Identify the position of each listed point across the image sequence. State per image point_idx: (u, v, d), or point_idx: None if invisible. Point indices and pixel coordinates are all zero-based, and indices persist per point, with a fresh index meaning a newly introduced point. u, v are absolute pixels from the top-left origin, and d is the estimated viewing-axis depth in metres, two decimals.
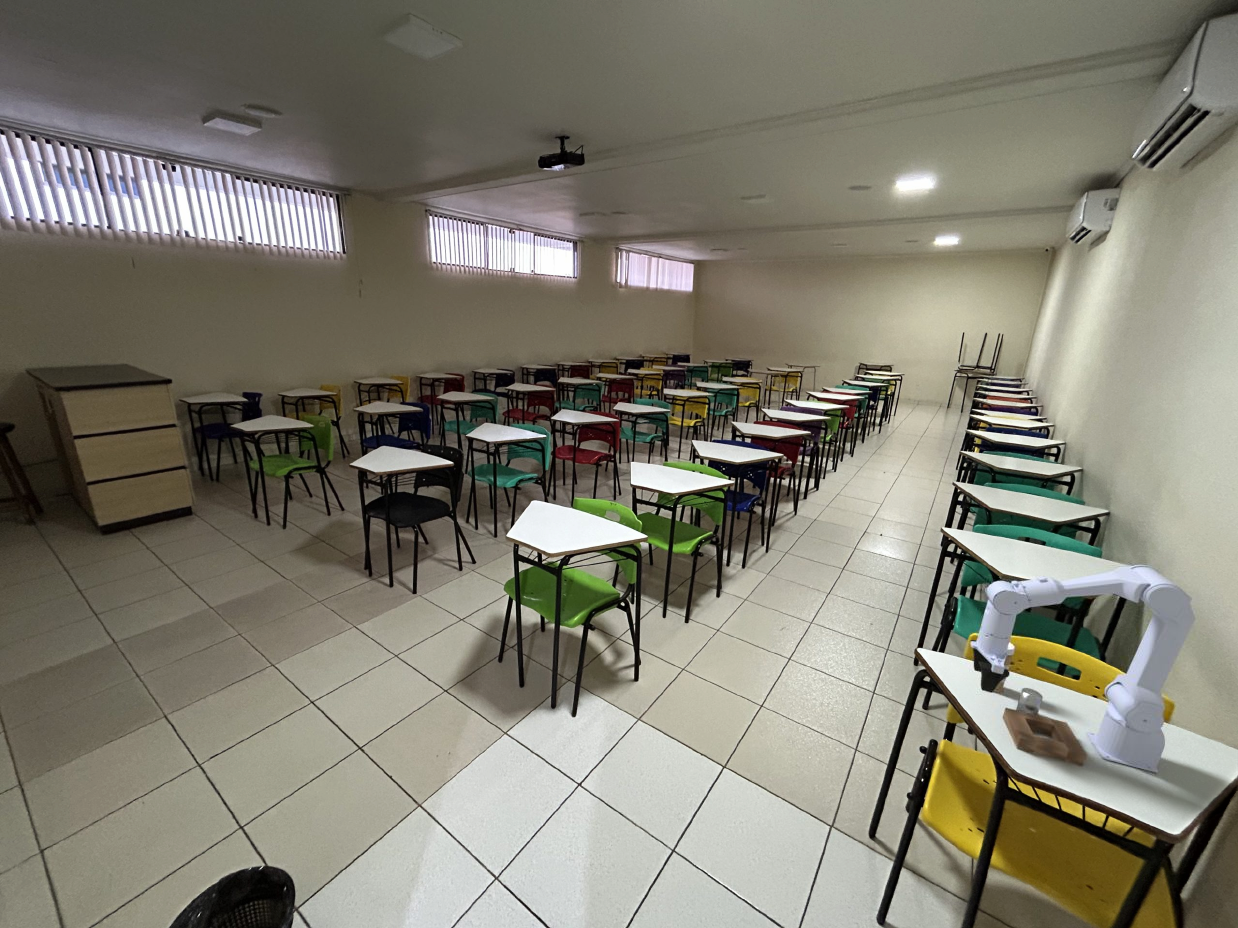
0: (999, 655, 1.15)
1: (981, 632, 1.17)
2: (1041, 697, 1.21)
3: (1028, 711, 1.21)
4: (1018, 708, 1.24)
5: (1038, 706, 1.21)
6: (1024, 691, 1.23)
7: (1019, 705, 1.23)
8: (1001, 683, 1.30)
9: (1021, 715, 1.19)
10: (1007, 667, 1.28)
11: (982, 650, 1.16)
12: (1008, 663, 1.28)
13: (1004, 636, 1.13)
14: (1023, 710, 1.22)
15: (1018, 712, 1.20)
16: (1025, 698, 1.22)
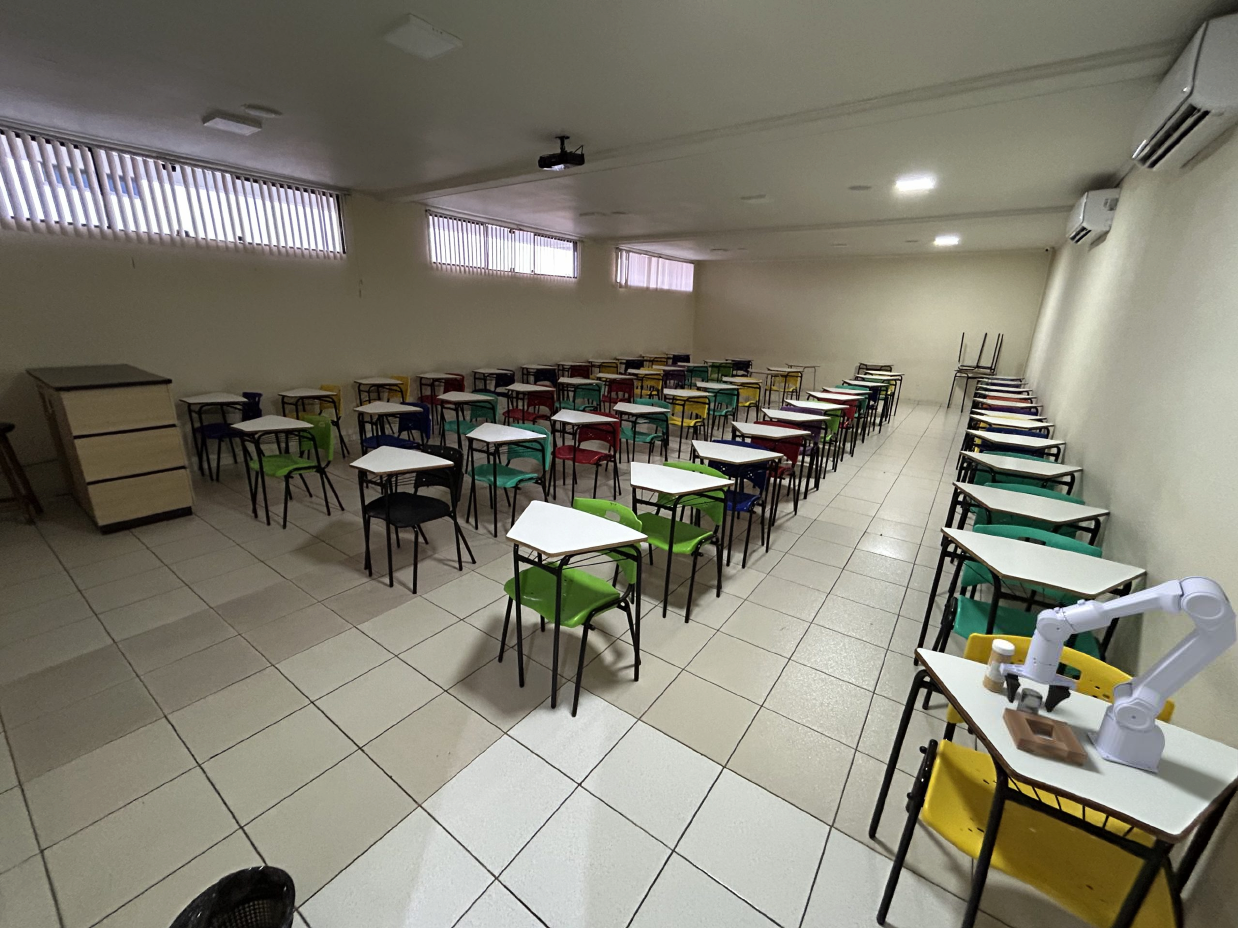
0: (1025, 672, 1.20)
1: None
2: (1041, 697, 1.21)
3: (1028, 711, 1.21)
4: (1018, 708, 1.24)
5: (1038, 706, 1.21)
6: (1024, 691, 1.23)
7: (1019, 705, 1.23)
8: (1001, 683, 1.30)
9: (1021, 715, 1.19)
10: None
11: (1023, 665, 1.23)
12: (1008, 663, 1.28)
13: (1047, 662, 1.16)
14: (1023, 710, 1.22)
15: (1018, 712, 1.20)
16: (1025, 698, 1.22)
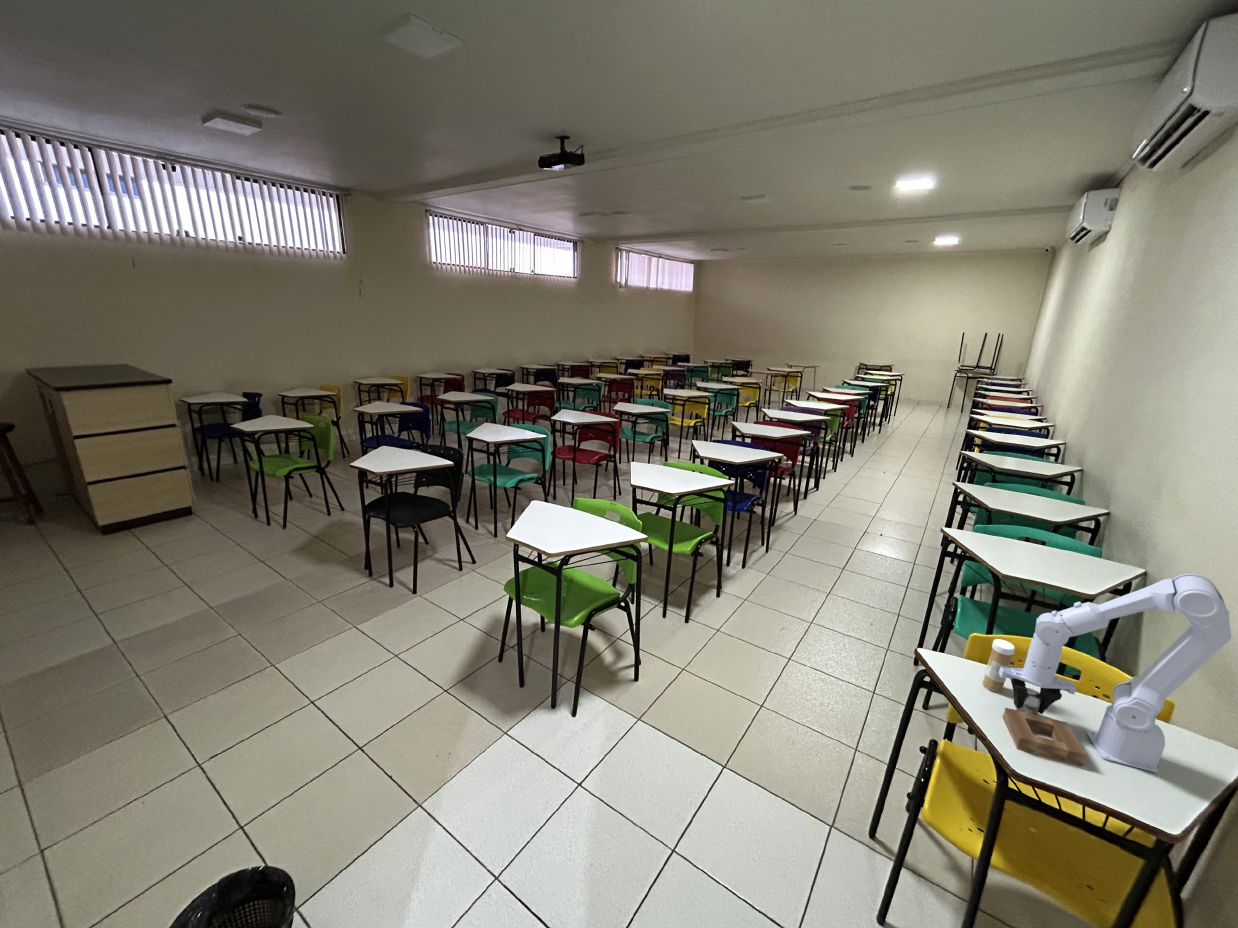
0: (1025, 676, 1.21)
1: None
2: (1041, 697, 1.21)
3: (1028, 711, 1.21)
4: (1018, 708, 1.24)
5: (1038, 706, 1.21)
6: None
7: None
8: (1001, 683, 1.30)
9: (1021, 715, 1.19)
10: (1007, 667, 1.28)
11: (1022, 668, 1.23)
12: (1008, 663, 1.28)
13: (1046, 666, 1.17)
14: (1023, 710, 1.22)
15: (1018, 712, 1.20)
16: (1025, 698, 1.22)
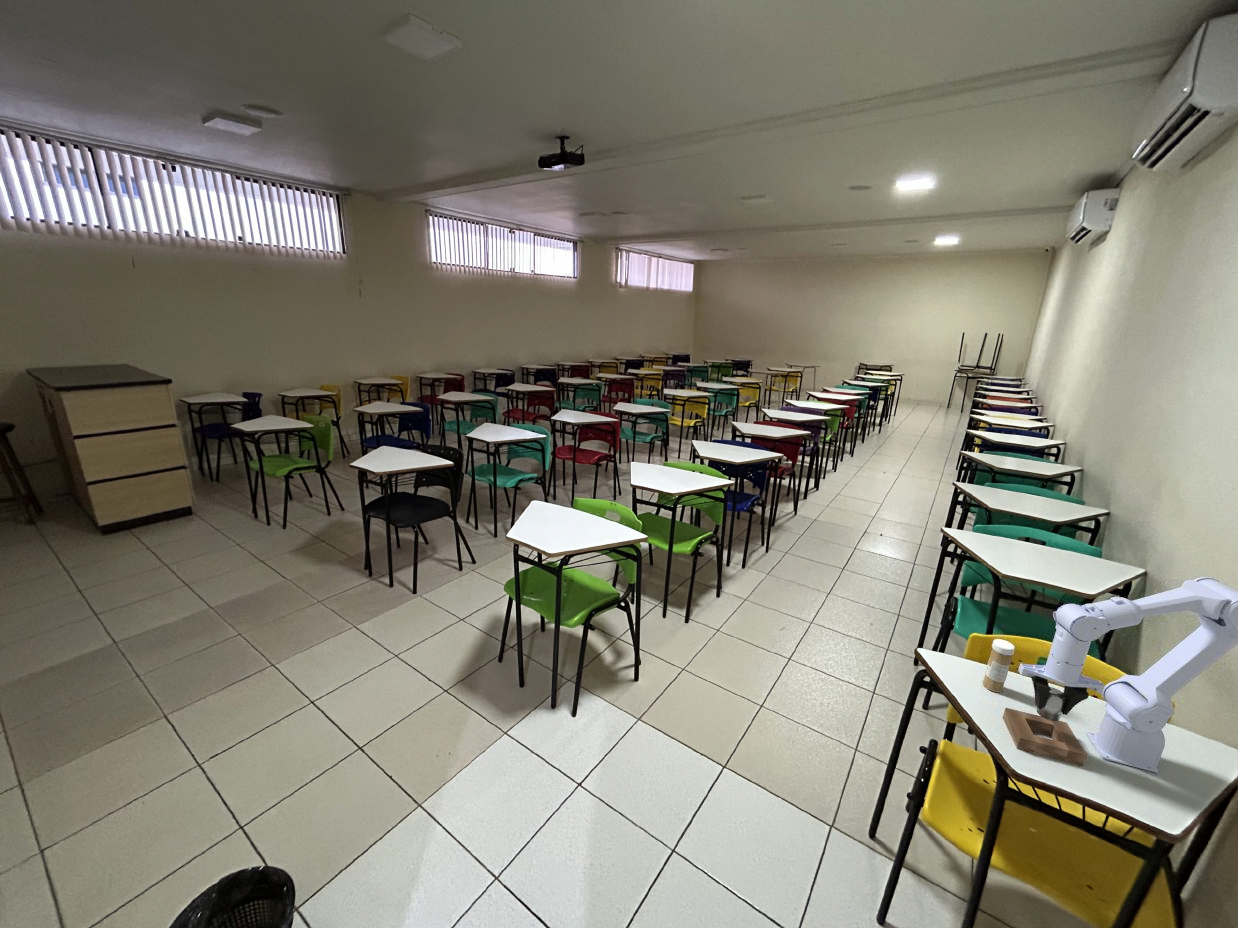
0: (1047, 673, 1.11)
1: None
2: (1064, 696, 1.11)
3: (1050, 712, 1.12)
4: (1039, 709, 1.14)
5: (1061, 706, 1.11)
6: None
7: None
8: (1001, 683, 1.30)
9: (1021, 715, 1.19)
10: (1007, 667, 1.28)
11: (1044, 665, 1.13)
12: (1008, 663, 1.28)
13: (1080, 663, 1.06)
14: (1045, 711, 1.12)
15: (1018, 712, 1.20)
16: (1047, 698, 1.12)
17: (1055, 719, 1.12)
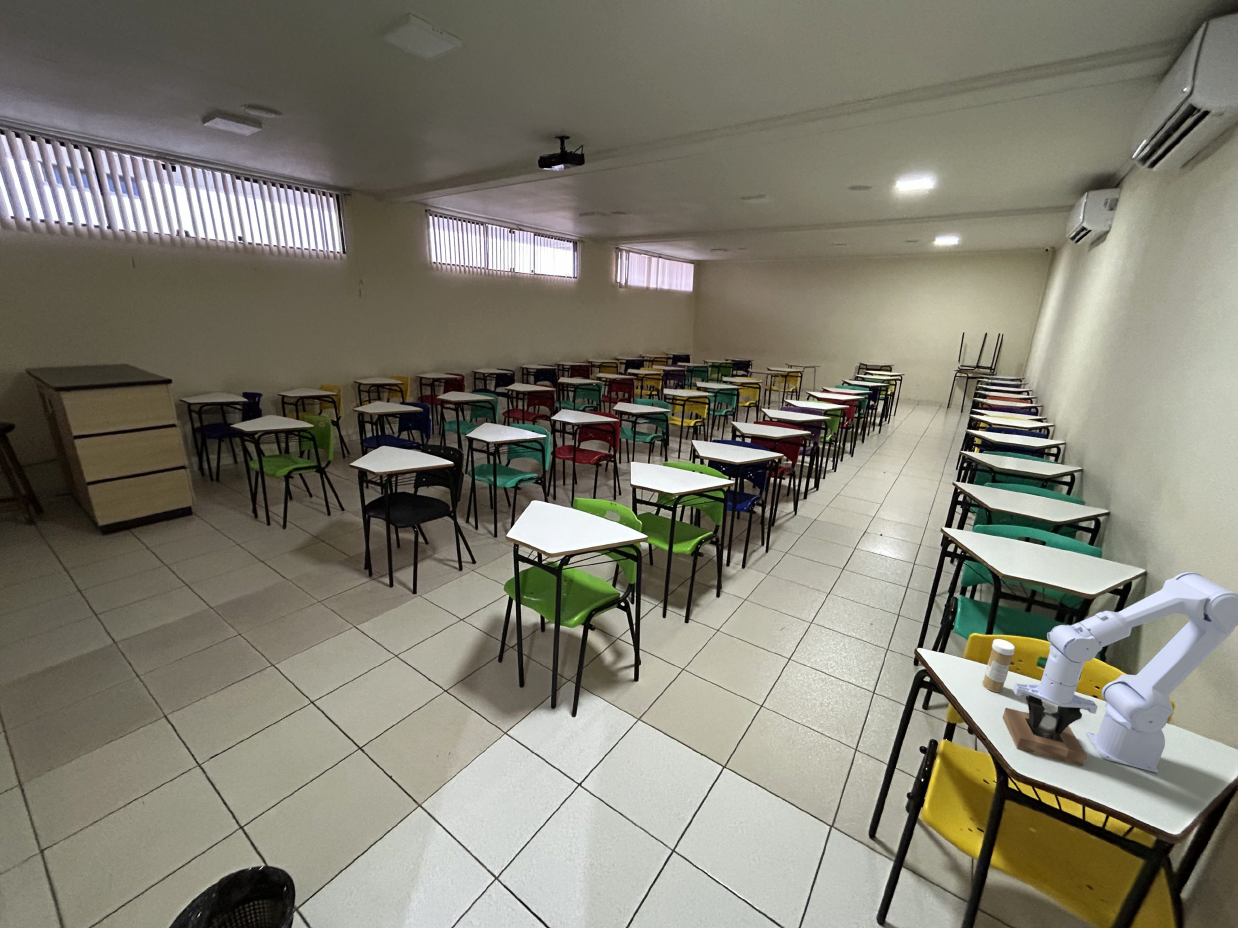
0: (1041, 693, 1.12)
1: None
2: (1058, 716, 1.12)
3: (1044, 731, 1.13)
4: (1033, 728, 1.15)
5: (1055, 726, 1.12)
6: None
7: None
8: (1001, 683, 1.30)
9: (1021, 715, 1.19)
10: (1007, 667, 1.28)
11: (1038, 685, 1.15)
12: (1008, 663, 1.28)
13: (1073, 684, 1.08)
14: (1039, 730, 1.14)
15: (1018, 712, 1.20)
16: (1041, 717, 1.13)
17: (1049, 738, 1.13)
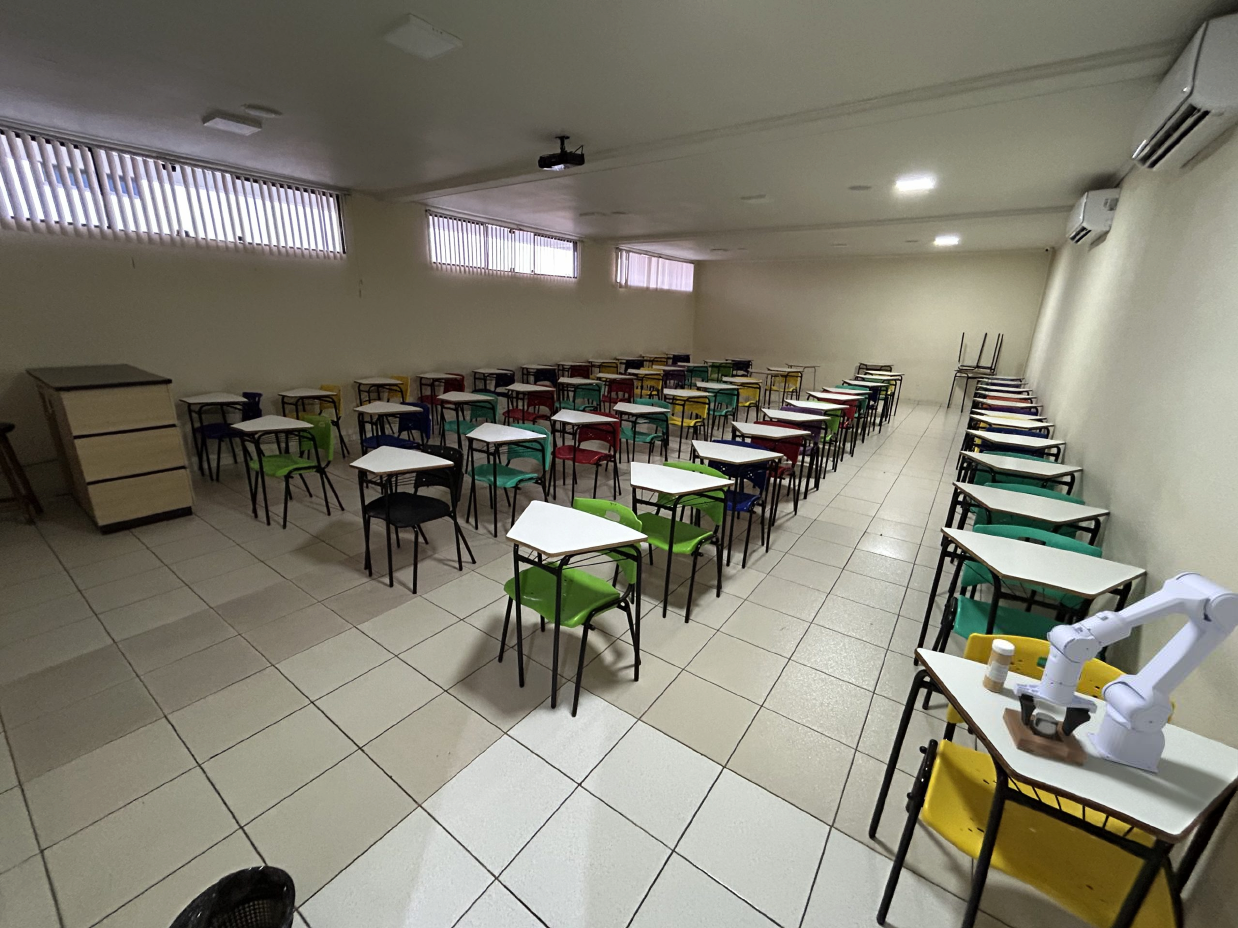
0: (1041, 693, 1.12)
1: None
2: (1056, 723, 1.13)
3: None
4: None
5: (1053, 732, 1.13)
6: (1038, 716, 1.15)
7: (1033, 731, 1.15)
8: (1001, 683, 1.30)
9: None
10: (1007, 667, 1.28)
11: (1038, 685, 1.15)
12: (1008, 663, 1.28)
13: (1073, 684, 1.08)
14: None
15: (1018, 712, 1.20)
16: (1039, 724, 1.14)
17: None
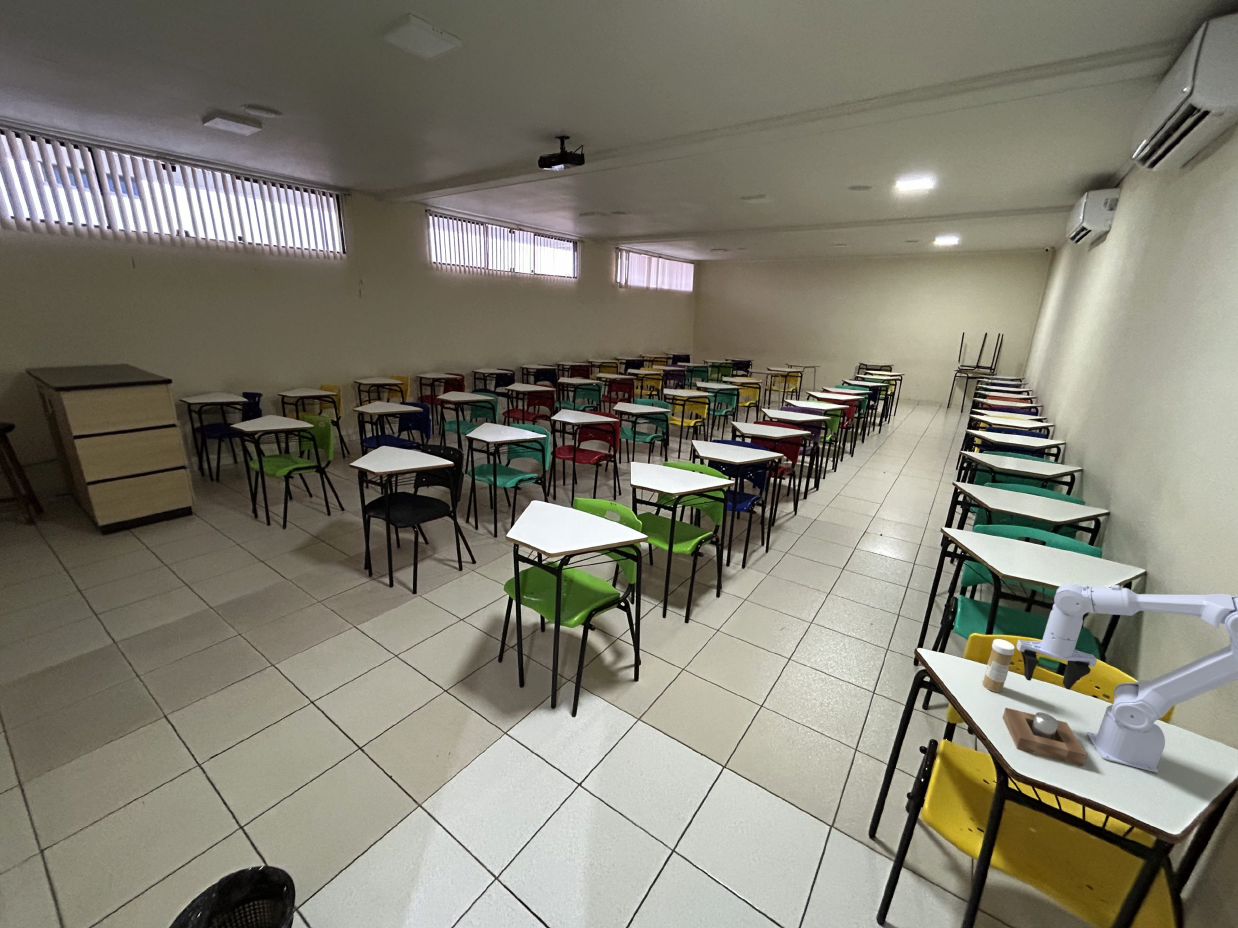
0: (1044, 649, 1.18)
1: None
2: (1056, 723, 1.13)
3: None
4: None
5: (1053, 732, 1.13)
6: (1038, 716, 1.15)
7: (1033, 731, 1.15)
8: (1001, 683, 1.30)
9: (1021, 715, 1.19)
10: (1007, 667, 1.28)
11: None
12: (1008, 663, 1.28)
13: (1065, 637, 1.14)
14: None
15: (1018, 712, 1.20)
16: (1039, 724, 1.14)
17: None
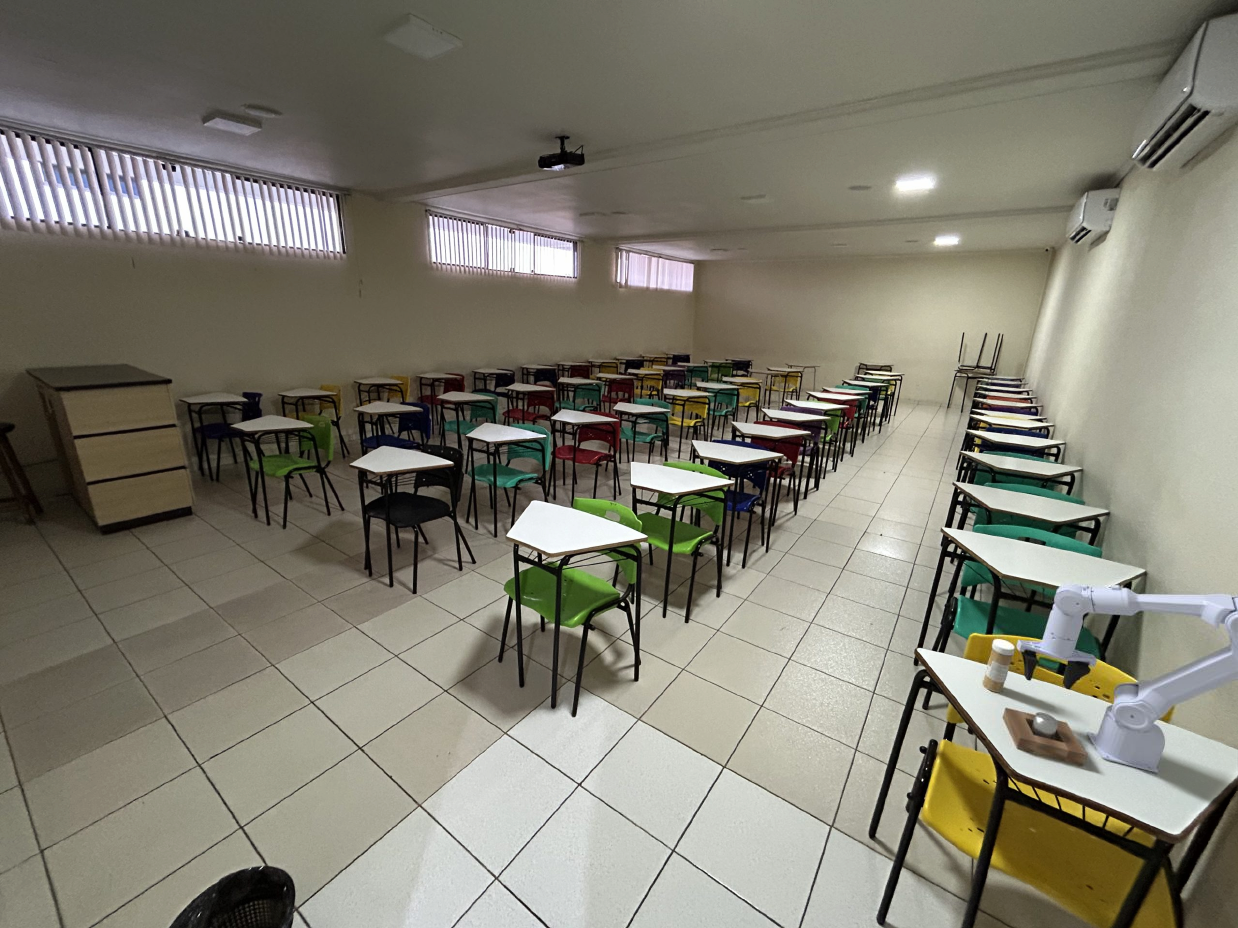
0: (1044, 648, 1.18)
1: None
2: (1056, 723, 1.13)
3: None
4: None
5: (1053, 732, 1.13)
6: (1038, 716, 1.15)
7: (1033, 731, 1.15)
8: (1001, 683, 1.30)
9: (1021, 715, 1.19)
10: (1007, 667, 1.28)
11: None
12: (1008, 663, 1.28)
13: (1065, 637, 1.14)
14: None
15: (1018, 712, 1.20)
16: (1039, 724, 1.14)
17: None
